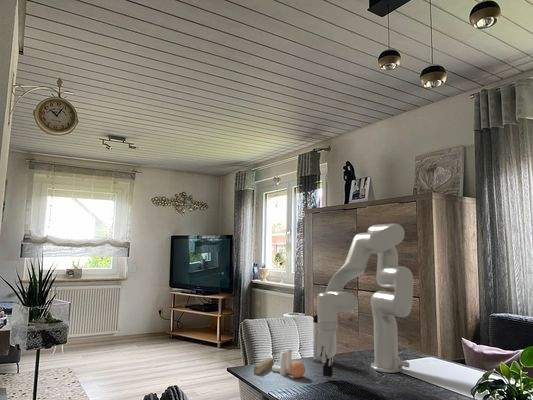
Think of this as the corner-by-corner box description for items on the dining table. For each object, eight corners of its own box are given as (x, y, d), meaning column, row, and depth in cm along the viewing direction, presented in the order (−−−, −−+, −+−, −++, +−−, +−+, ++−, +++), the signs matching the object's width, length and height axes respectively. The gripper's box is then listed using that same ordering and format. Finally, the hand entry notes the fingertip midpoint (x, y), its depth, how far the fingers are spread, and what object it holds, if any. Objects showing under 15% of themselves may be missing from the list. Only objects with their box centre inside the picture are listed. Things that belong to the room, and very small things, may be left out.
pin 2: (292, 371, 160) (292, 349, 161) (290, 372, 157) (290, 350, 159) (286, 370, 161) (287, 348, 162) (284, 371, 159) (284, 349, 160)
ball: (290, 368, 156) (305, 371, 155) (288, 379, 151) (303, 382, 150) (291, 356, 154) (306, 359, 153) (289, 367, 149) (305, 370, 148)
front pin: (293, 367, 157) (274, 364, 161) (291, 369, 155) (271, 366, 159) (293, 373, 157) (274, 370, 160) (291, 375, 155) (271, 372, 158)
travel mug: (327, 363, 172) (327, 315, 174) (312, 362, 173) (312, 315, 175) (328, 359, 178) (328, 313, 180) (313, 358, 179) (313, 313, 182)
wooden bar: (273, 365, 167) (273, 358, 167) (258, 374, 154) (258, 366, 155) (269, 365, 168) (269, 357, 168) (253, 374, 155) (253, 366, 156)
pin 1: (287, 374, 155) (287, 352, 156) (284, 376, 153) (285, 353, 154) (281, 373, 156) (281, 351, 157) (279, 375, 154) (279, 352, 155)
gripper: (324, 321, 160) (324, 369, 158) (311, 328, 147) (311, 380, 144) (342, 323, 157) (343, 372, 154) (331, 330, 143) (331, 383, 141)
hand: (327, 375), depth 149 cm, fingers closed
